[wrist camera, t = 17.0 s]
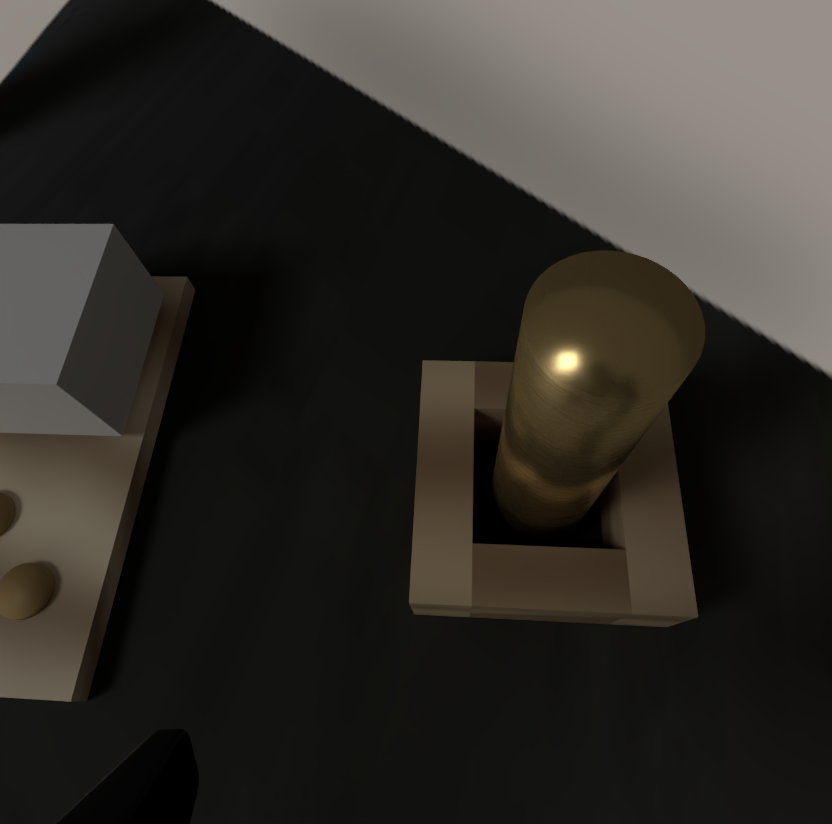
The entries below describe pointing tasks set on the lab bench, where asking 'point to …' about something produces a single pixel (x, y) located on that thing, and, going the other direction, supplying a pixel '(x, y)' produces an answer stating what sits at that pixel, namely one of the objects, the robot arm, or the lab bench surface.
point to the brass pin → (587, 385)
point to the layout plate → (76, 527)
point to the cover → (71, 328)
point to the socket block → (541, 565)
